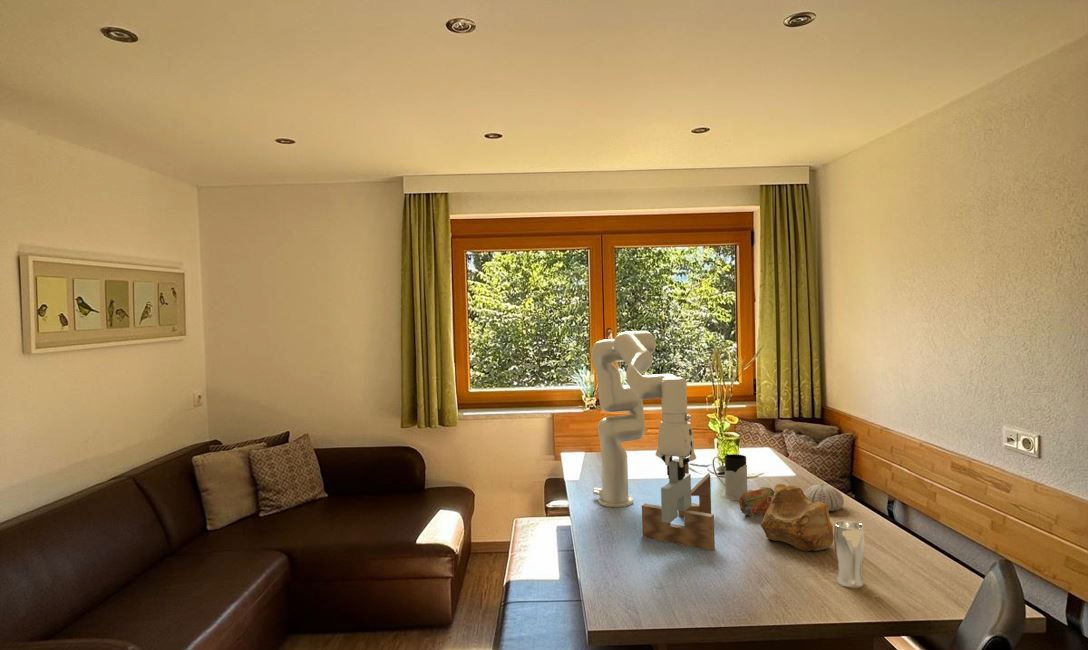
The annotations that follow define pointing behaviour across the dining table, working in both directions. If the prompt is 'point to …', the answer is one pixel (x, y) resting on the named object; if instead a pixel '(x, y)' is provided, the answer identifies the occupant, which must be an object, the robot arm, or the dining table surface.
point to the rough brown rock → (797, 520)
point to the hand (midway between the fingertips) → (676, 478)
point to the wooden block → (700, 495)
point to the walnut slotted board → (679, 528)
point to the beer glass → (849, 552)
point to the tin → (756, 501)
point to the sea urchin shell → (825, 496)
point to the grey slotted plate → (675, 493)
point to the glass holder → (734, 476)
